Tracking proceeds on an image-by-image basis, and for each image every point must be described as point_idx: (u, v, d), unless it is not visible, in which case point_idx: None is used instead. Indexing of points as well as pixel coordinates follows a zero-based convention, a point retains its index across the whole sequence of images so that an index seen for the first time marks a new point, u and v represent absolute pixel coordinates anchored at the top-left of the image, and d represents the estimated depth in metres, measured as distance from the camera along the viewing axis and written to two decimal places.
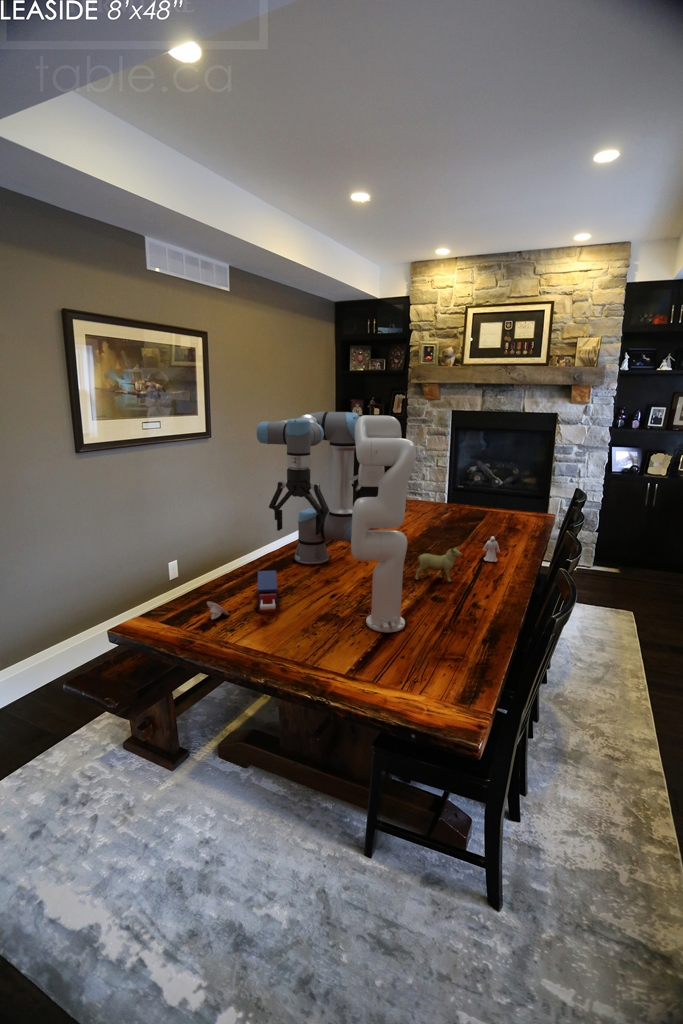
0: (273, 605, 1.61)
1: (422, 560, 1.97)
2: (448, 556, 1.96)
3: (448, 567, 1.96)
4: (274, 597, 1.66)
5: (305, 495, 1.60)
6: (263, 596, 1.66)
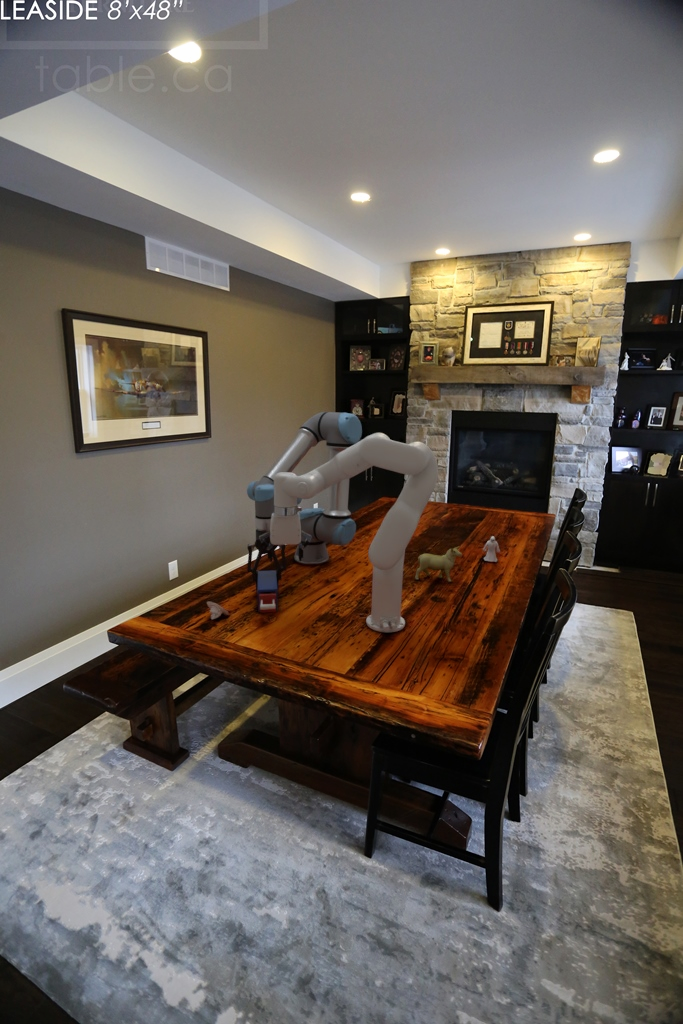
0: (273, 605, 1.61)
1: (422, 560, 1.97)
2: (448, 556, 1.96)
3: (448, 567, 1.96)
4: (274, 597, 1.66)
5: None
6: (263, 596, 1.66)
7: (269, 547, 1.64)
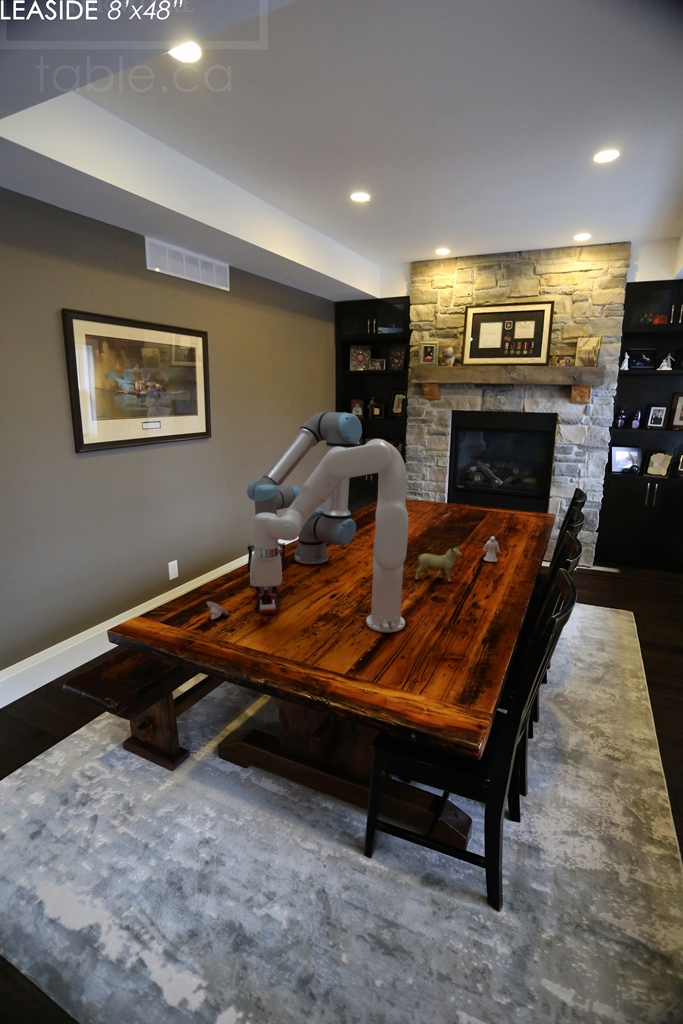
0: (273, 605, 1.61)
1: (422, 560, 1.97)
2: (448, 556, 1.96)
3: (448, 567, 1.96)
4: (274, 597, 1.66)
5: None
6: None
7: (263, 592, 1.61)
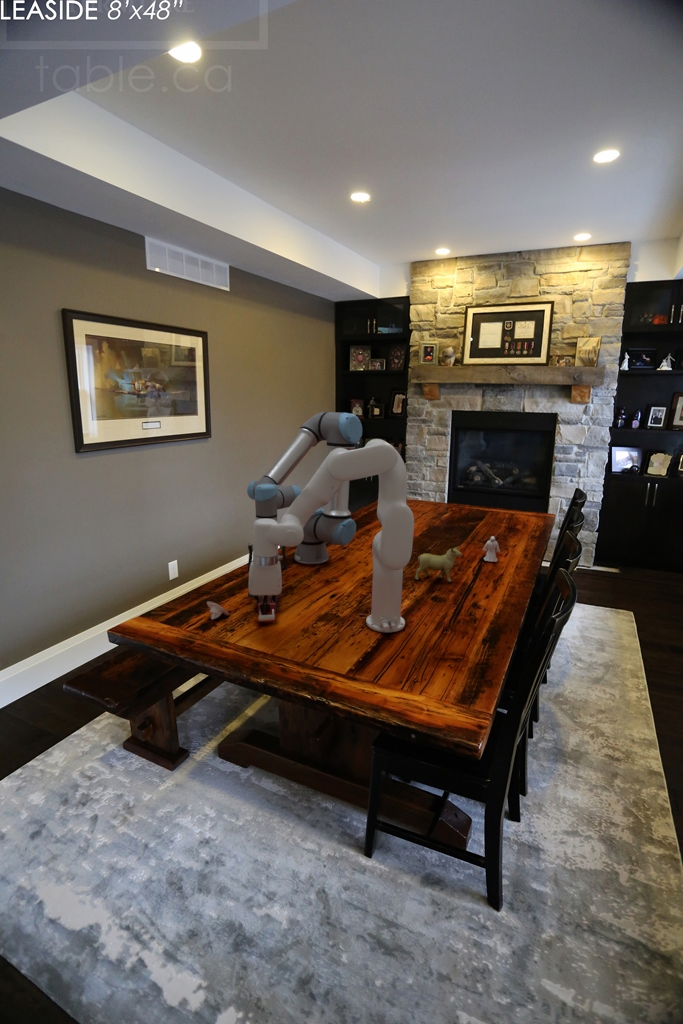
0: (272, 616, 1.54)
1: (422, 560, 1.97)
2: (448, 556, 1.96)
3: (448, 567, 1.96)
4: (274, 607, 1.60)
5: None
6: None
7: (262, 601, 1.55)
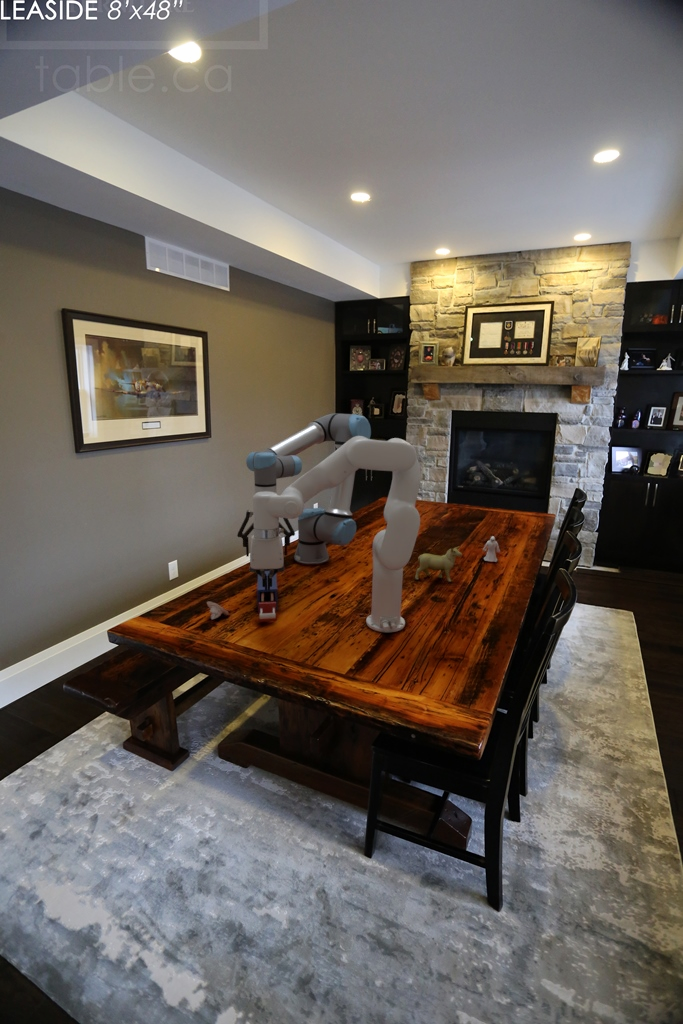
0: (273, 614, 1.55)
1: (422, 560, 1.97)
2: (448, 556, 1.96)
3: (448, 567, 1.96)
4: (274, 605, 1.60)
5: None
6: (263, 604, 1.59)
7: (264, 575, 1.53)
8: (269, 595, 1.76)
